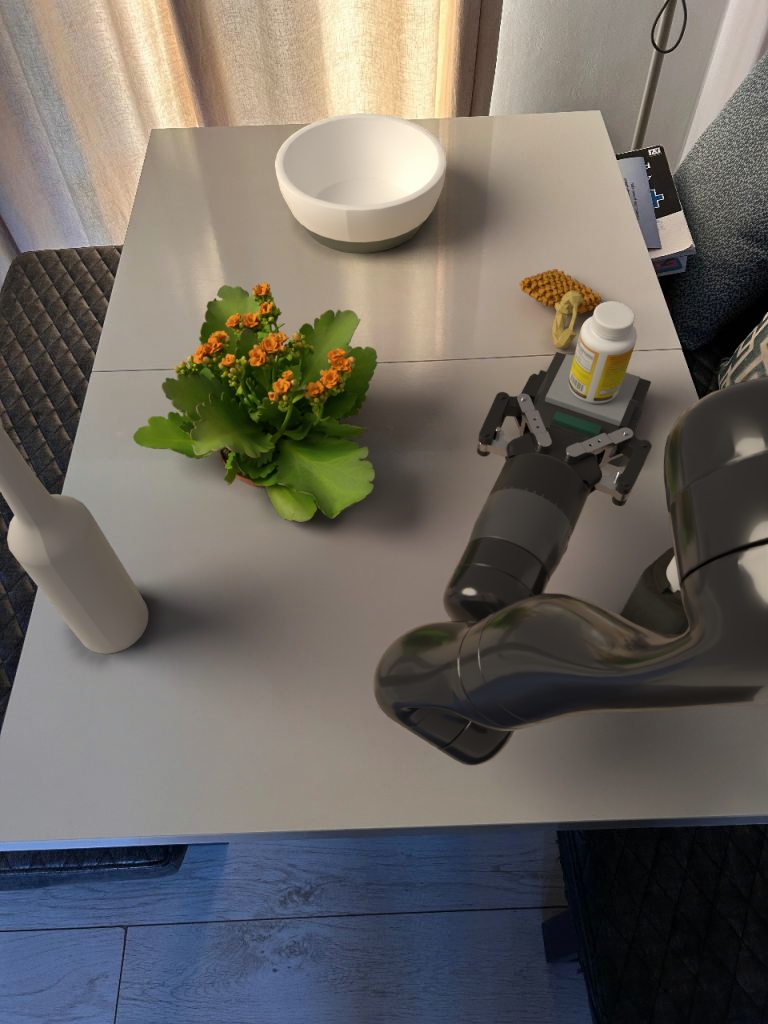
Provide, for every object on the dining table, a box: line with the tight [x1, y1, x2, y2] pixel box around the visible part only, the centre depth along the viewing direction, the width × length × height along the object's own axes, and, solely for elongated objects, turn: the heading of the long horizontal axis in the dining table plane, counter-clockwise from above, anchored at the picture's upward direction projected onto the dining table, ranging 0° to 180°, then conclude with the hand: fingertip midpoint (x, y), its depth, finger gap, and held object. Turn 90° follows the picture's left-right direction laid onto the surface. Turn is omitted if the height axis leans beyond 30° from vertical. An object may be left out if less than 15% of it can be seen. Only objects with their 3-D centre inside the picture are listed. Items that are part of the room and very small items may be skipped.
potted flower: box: [132, 281, 378, 523], centre depth 76 cm, size 25×24×18 cm
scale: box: [534, 351, 652, 467], centre depth 84 cm, size 11×11×3 cm
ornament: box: [518, 268, 602, 349], centre depth 92 cm, size 7×10×15 cm
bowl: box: [274, 112, 448, 254], centre depth 103 cm, size 22×22×8 cm
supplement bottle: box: [568, 300, 638, 404], centre depth 79 cm, size 6×6×10 cm
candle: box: [619, 546, 688, 635], centre depth 59 cm, size 5×5×25 cm
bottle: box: [0, 417, 150, 655], centre depth 60 cm, size 7×7×28 cm
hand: (586, 391), depth 71 cm, fingers open, 8 cm apart
